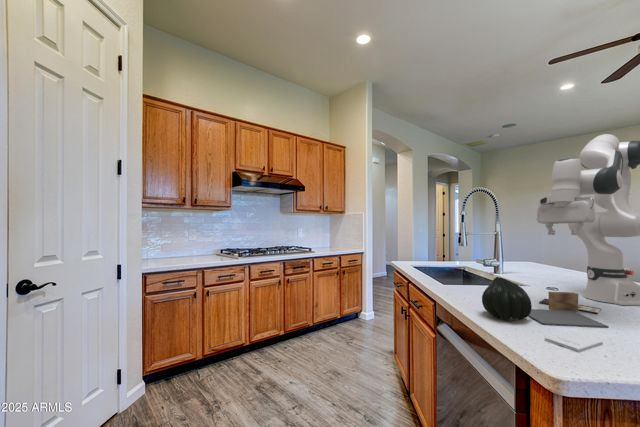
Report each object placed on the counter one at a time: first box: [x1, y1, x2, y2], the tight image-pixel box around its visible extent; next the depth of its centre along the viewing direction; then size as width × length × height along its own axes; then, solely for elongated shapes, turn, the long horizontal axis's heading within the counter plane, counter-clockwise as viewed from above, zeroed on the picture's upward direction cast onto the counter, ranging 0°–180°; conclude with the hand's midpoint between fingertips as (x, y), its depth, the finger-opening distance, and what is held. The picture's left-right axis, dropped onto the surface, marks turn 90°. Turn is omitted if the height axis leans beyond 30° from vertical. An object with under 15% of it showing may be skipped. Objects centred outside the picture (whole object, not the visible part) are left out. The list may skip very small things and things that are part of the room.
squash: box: [481, 276, 533, 321], centre depth 105 cm, size 14×15×15 cm
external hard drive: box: [544, 331, 604, 353], centre depth 83 cm, size 2×8×12 cm
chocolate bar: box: [538, 298, 602, 315], centre depth 118 cm, size 9×1×18 cm
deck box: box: [547, 291, 579, 313], centre depth 113 cm, size 9×3×7 cm, turn 83°
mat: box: [527, 308, 609, 329], centre depth 104 cm, size 20×16×1 cm
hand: (562, 234), depth 110 cm, fingers open, 8 cm apart
